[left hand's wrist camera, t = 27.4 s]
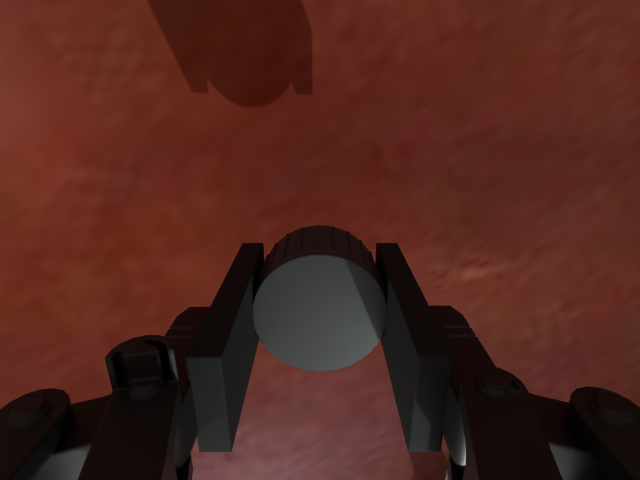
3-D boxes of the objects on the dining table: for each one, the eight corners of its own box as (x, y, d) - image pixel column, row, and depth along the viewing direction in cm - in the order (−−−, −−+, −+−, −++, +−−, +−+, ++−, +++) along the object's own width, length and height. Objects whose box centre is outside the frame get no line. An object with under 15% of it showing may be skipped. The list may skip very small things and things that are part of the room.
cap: (240, 290, 15) (224, 330, 12) (305, 200, 13) (302, 225, 11) (332, 345, 16) (334, 393, 13) (400, 265, 14) (417, 302, 12)
